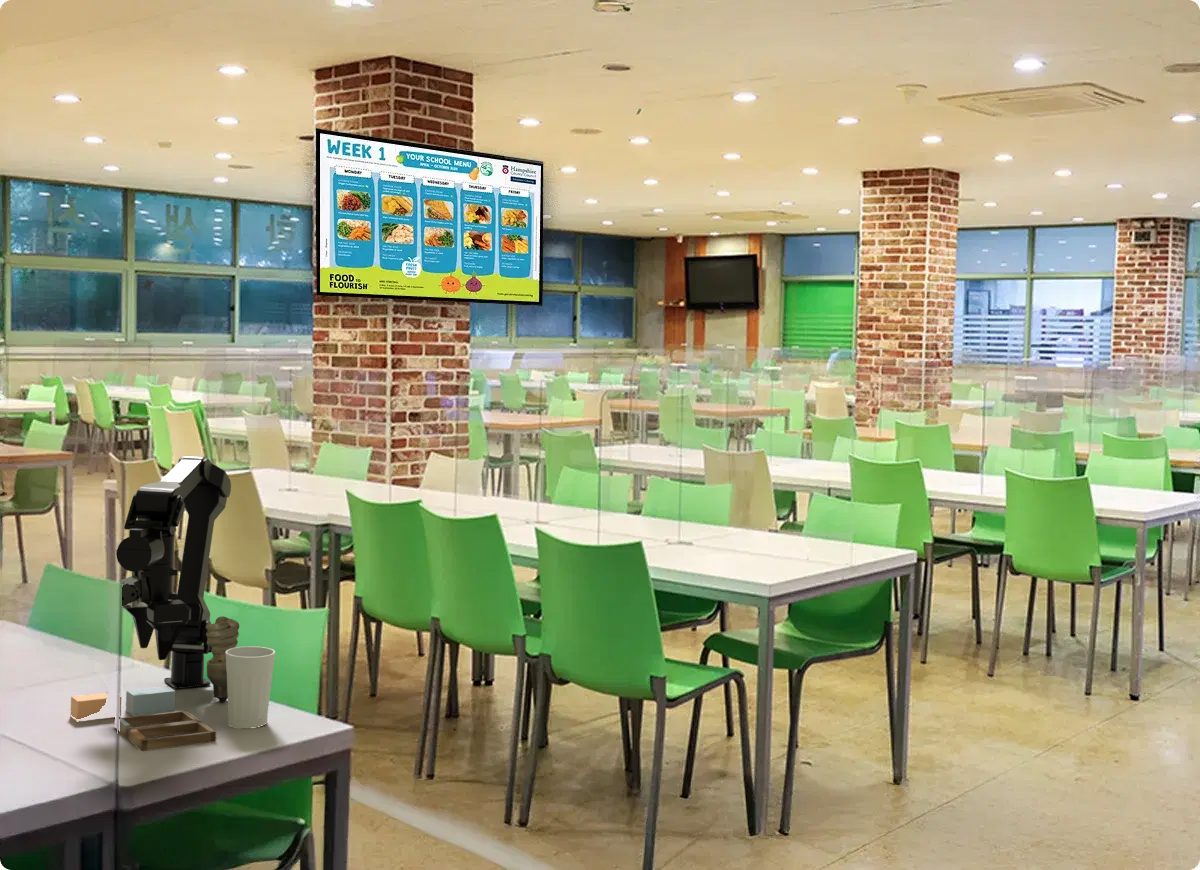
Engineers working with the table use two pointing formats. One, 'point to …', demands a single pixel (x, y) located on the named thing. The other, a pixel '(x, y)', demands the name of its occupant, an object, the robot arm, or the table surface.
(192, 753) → the table surface
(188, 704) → the table surface
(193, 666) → the robot arm
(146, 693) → the slate bar
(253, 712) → the cup
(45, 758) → the table surface
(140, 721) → the divided wooden tray
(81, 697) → the terracotta bar
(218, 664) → the light bulb
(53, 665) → the table surface
